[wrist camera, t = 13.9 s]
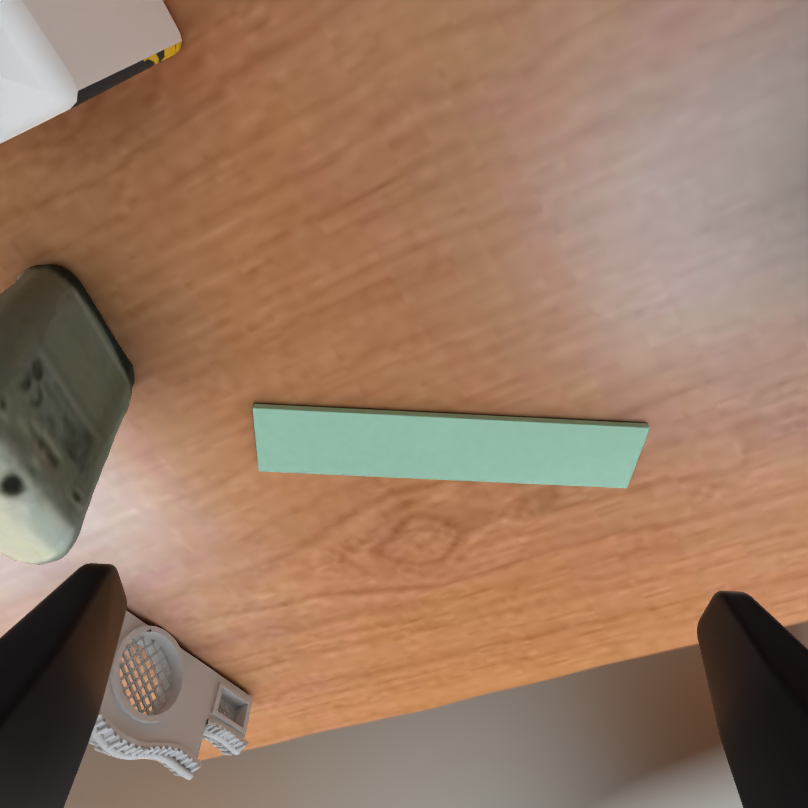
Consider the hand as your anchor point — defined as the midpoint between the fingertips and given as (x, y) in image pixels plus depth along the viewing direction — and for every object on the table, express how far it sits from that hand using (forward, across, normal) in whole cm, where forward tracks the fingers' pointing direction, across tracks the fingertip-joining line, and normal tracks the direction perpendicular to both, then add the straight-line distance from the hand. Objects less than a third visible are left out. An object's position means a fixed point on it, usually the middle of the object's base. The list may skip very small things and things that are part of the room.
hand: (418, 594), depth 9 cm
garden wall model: (+13, +11, +23) cm, 29 cm away
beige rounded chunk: (+13, +11, +4) cm, 18 cm away
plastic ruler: (+13, -2, +8) cm, 15 cm away
